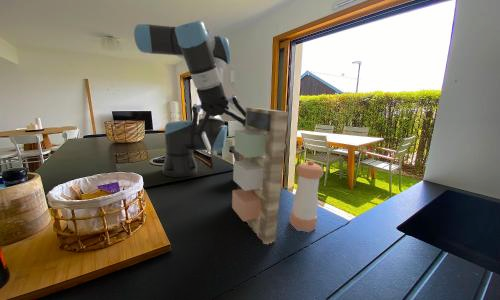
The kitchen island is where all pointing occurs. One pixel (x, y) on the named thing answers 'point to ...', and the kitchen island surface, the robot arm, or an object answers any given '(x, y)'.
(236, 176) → the key middle
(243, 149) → the key top
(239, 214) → the block
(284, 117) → the keypad panel
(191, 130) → the robot arm
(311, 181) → the salt shaker
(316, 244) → the kitchen island surface
